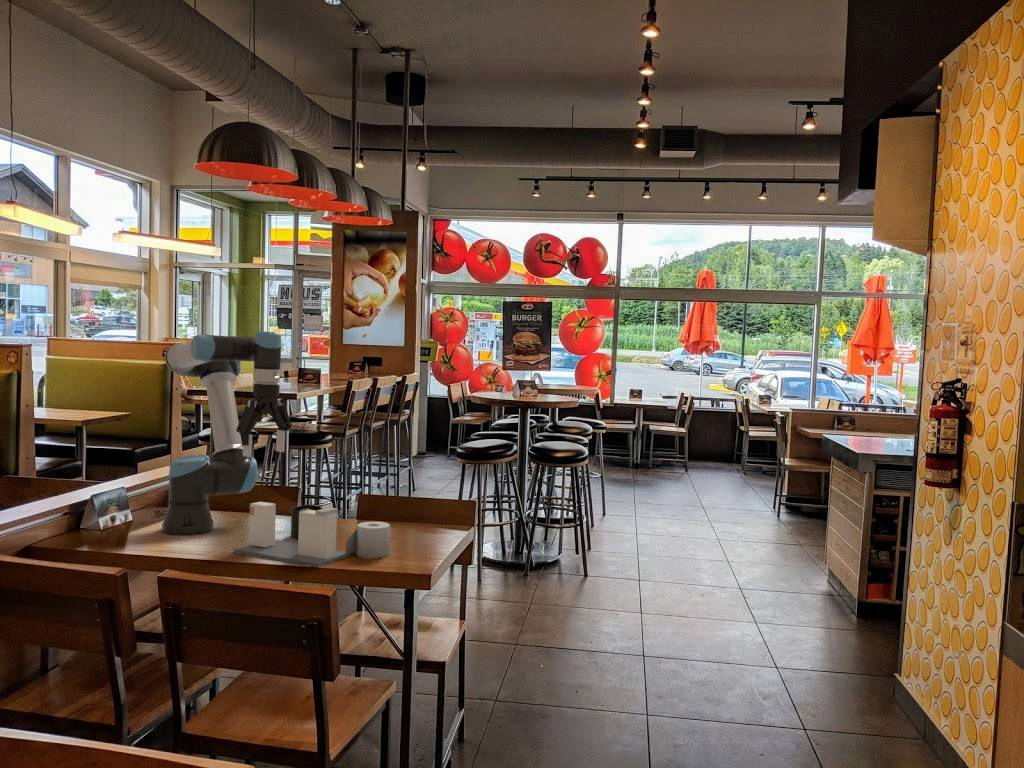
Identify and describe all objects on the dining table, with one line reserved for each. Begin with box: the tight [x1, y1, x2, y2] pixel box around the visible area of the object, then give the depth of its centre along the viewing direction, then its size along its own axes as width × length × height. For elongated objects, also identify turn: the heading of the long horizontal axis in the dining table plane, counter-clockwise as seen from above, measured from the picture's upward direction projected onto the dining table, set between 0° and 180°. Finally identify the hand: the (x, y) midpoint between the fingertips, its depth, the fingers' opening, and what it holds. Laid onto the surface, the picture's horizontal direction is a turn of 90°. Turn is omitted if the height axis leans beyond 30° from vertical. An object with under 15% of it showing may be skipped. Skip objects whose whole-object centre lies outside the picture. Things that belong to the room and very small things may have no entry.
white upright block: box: [248, 501, 277, 547], centre depth 224 cm, size 6×4×12 cm
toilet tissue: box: [345, 521, 391, 559], centre depth 222 cm, size 9×13×9 cm
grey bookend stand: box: [233, 507, 351, 568], centre depth 219 cm, size 30×14×14 cm, turn 65°
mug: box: [290, 505, 324, 541], centre depth 241 cm, size 9×12×9 cm
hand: (264, 454), depth 230 cm, fingers open, 13 cm apart
